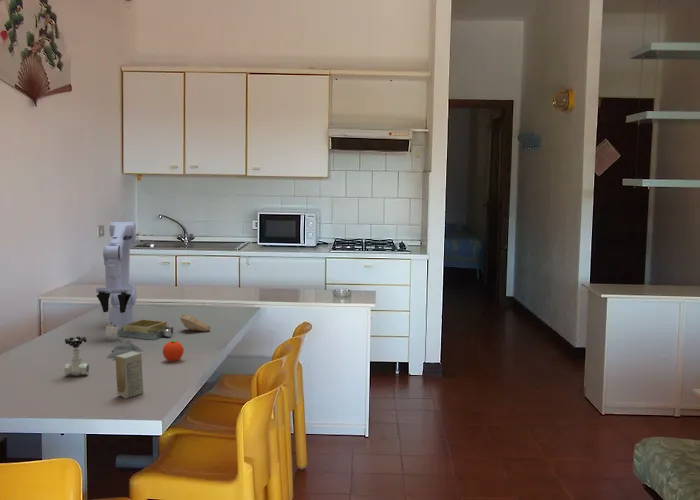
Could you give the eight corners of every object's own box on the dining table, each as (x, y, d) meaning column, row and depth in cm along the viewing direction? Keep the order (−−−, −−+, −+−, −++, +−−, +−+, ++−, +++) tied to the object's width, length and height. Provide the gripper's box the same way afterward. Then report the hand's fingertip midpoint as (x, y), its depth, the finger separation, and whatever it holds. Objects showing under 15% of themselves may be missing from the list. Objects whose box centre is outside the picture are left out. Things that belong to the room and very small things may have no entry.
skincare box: (134, 390, 203) (133, 350, 201) (144, 393, 200) (142, 352, 199) (116, 396, 197) (114, 355, 196) (125, 399, 195) (124, 357, 194)
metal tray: (116, 335, 269) (116, 324, 269) (136, 329, 280) (136, 318, 280) (161, 340, 262) (160, 329, 261) (179, 333, 273) (179, 322, 272)
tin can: (103, 340, 261) (102, 324, 261) (111, 338, 266) (111, 322, 265) (113, 342, 260) (112, 325, 259) (121, 339, 264) (120, 323, 263)
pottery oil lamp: (207, 334, 273) (206, 316, 272) (177, 333, 273) (177, 316, 272) (212, 329, 281) (212, 312, 281) (184, 328, 282) (183, 312, 281)
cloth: (127, 363, 234) (127, 356, 233) (89, 362, 235) (88, 355, 235) (155, 344, 259) (155, 338, 259) (120, 343, 261) (120, 337, 260)
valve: (69, 372, 220) (68, 336, 219) (90, 372, 221) (89, 336, 219) (63, 379, 214) (61, 341, 212) (84, 378, 214) (83, 341, 213)
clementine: (167, 357, 239) (166, 337, 238) (186, 357, 239) (186, 337, 238) (160, 363, 231) (159, 343, 230) (180, 364, 231) (180, 343, 230)
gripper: (90, 277, 259) (91, 313, 260) (123, 278, 255) (123, 314, 256) (102, 275, 266) (103, 310, 267) (134, 276, 262) (135, 311, 262)
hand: (114, 312), depth 262 cm, fingers open, 7 cm apart
